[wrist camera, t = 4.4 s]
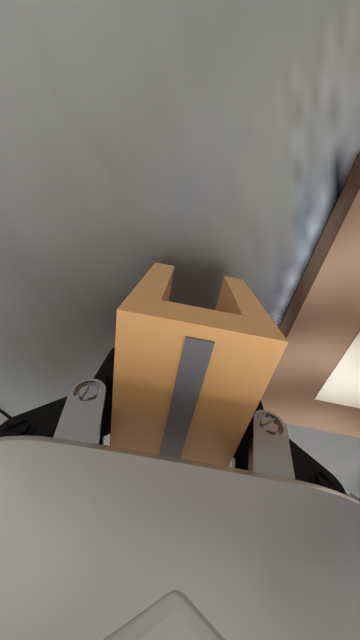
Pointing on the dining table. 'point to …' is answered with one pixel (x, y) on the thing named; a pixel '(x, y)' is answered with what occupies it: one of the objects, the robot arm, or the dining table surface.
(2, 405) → the dining table surface
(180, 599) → the robot arm
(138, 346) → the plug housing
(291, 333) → the pin board
